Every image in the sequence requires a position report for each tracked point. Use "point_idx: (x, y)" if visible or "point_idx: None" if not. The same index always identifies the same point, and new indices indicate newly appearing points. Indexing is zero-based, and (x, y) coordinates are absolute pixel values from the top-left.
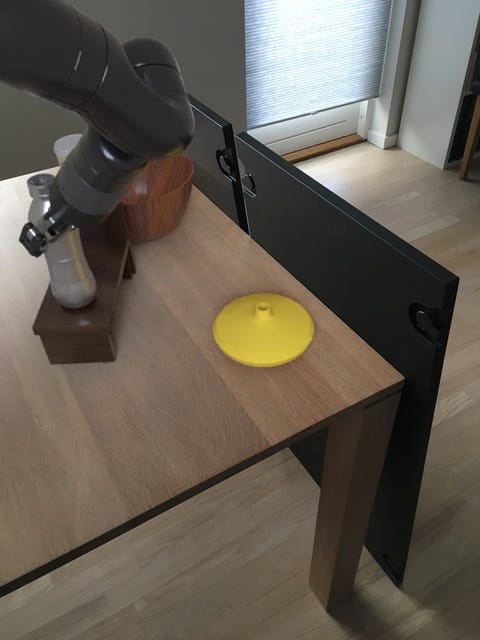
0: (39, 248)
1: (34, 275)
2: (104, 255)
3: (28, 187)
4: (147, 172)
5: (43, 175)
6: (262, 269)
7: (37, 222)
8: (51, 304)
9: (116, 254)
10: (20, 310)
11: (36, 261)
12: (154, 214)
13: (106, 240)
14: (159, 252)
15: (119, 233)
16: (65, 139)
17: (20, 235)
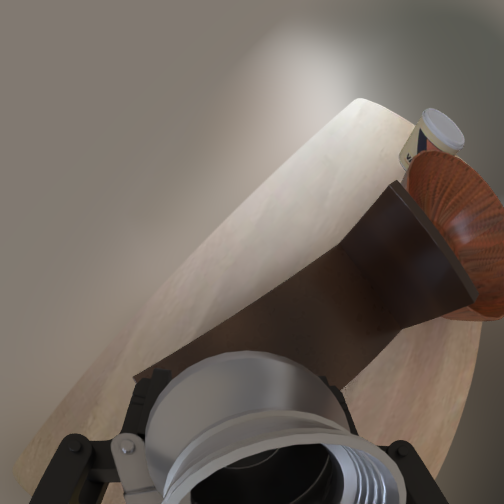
0: (104, 493)
1: (281, 217)
2: (349, 337)
3: (166, 493)
4: (477, 219)
5: (376, 464)
6: (437, 452)
7: (126, 501)
8: (193, 364)
9: (362, 352)
10: (216, 256)
11: (302, 199)
12: (452, 313)
13: (378, 304)
14: (410, 329)
15: (400, 317)
16: (439, 114)
17: (42, 479)
